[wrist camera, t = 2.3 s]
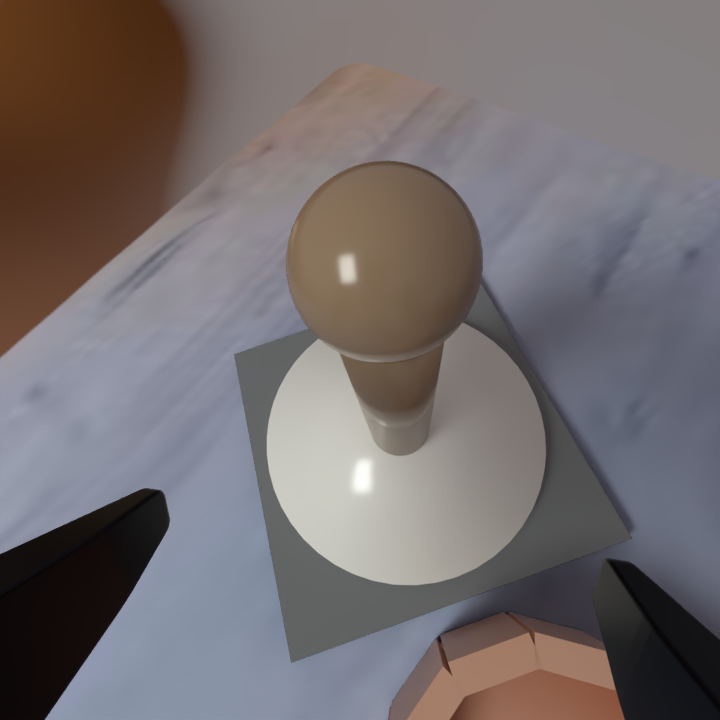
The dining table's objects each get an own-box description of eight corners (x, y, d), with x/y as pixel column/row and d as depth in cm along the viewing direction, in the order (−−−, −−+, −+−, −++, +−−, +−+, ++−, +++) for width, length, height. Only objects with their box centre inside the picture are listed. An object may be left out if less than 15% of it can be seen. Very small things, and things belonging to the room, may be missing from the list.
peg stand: (598, 522, 17) (1429, 463, 3) (307, 628, 17) (-210, 1086, 3) (466, 289, 23) (549, -80, 9) (252, 362, 23) (5, 93, 9)
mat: (625, 538, 17) (632, 538, 17) (295, 658, 17) (291, 663, 16) (473, 278, 24) (474, 272, 24) (238, 358, 24) (234, 354, 23)
